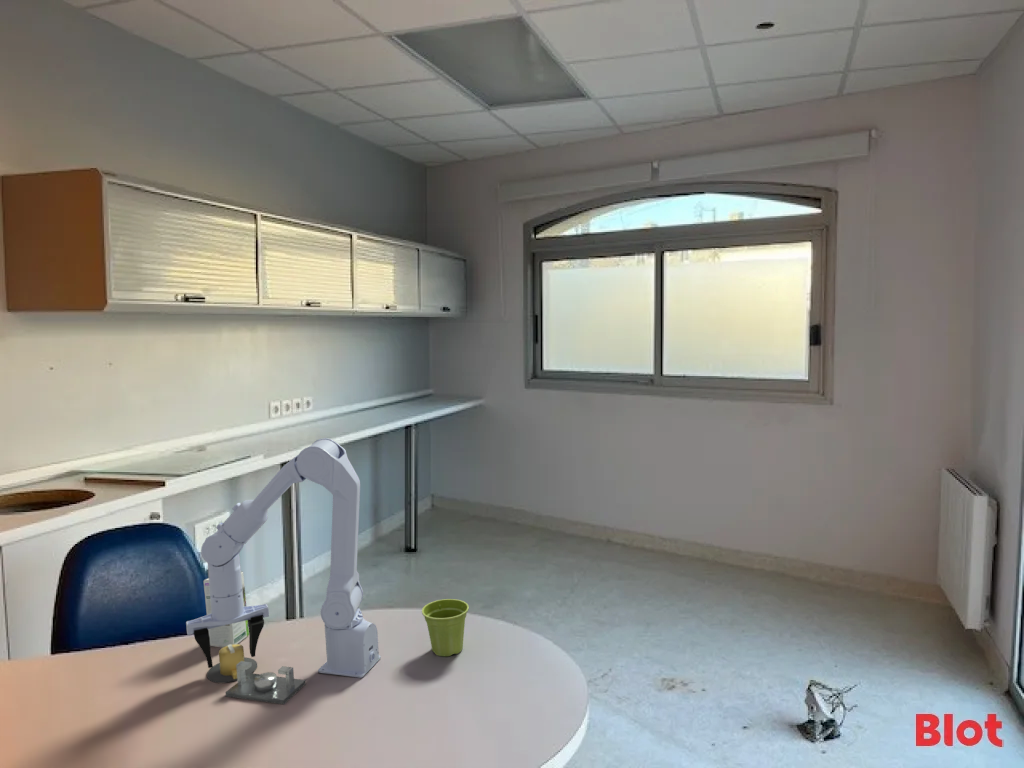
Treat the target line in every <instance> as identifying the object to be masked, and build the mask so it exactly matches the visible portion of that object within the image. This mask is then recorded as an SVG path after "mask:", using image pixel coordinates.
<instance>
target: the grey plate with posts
mask: <svg viewBox="0 0 1024 768" xmlns="http://www.w3.org/2000/svg"><path fill="white" fill-rule="evenodd" d="M251 666H252V664H251V662H245V661H241V662H239V663H238V664H237V665H236V668H237V681H236V682H237V683H235V684H234V685H233V686H231V687H230V688H228V690H226V691H225V697H228V698H235V699H242V700H248V701H249V700H250V701H254V702H255V701H256V702H257V701H258V702H263V703H264V702H265V703H270V704H276V705H277V704H279V705H285V704H286V703H287V702H288V701H290V699H291V698H293V696H294V695H296V693H298V692H299V691H300V690H301V689H302V688H303V687H304V686H305V685H306V684H307V683H306V679H301V678H300V679H299V678H295V676H294V673H295V672H294V667H293V666H292V667H291V666H284V665H281V667H280V668H278V669H277V674H278V675H285V677H283V676H277V674H276V673H275V672H268V671H267V672H263V673H254V672H253V673H249V674H248V675H247V676H246V675H245V670H247V669H248V668H250V667H251Z"/></svg>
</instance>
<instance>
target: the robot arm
mask: <svg viewBox="0 0 1024 768" xmlns="http://www.w3.org/2000/svg"><path fill="white" fill-rule="evenodd" d="M305 480H309V481H310V482H312V483H313V482H314V483H315V484H318V485H320V486H322V487H323V488H325V489H326V490H327V491H328V492H329V493H331V494H332V510H331V511H332V512H331V513H332V516H331V518H332V519H331V541H330V543H331V545H330V547H331V548H330V567H329V569H330V570H329V571H330V572H329V574H330V575H329V579H328V584H327V588H326V596H325V600H324V602H323V603H322V605H321V608H320V617H321V621H322V622H323V623H324V634H325V636H324V637H325V651H326V662H324V664H322V666H320V667H319V668H318V670H317V672H318V673H320V674H327V675H336V676H343V677H344V676H345V677H351V678H352V677H353V678H354V677H355V678H360V679H361V678H364V676H366V674H367V673H368V672H369V671H370V670H371V669H372V668H373V667H374V666H375V665H376V664H377V663H378V661H379V660H380V659H381V656H382V655H380V654H379V653H380V652H379V638H378V637H379V636H378V634H379V633H378V627H377V625H376V624H375V623H374V622H370V621H368V620H367V619H365V618H364V617H363V616H364V614H363V613H362V611H361V608H360V607H359V606H360V605H361V603H362V602H363V599H364V589H363V588H362V586H361V583H360V573H359V572H358V569H357V568H358V549H359V521H360V498H361V496H360V495H361V481H360V478H359V475H358V474H357V472H356V471H355V468H354V466H353V465H352V463H351V461H350V460H349V458H348V454H347V451H346V449H345V448H344V447H343V446H341V445H340V444H339V443H338V442H336V441H335V440H333V439H331V438H328V437H325V438H324V437H322V438H319V439H316V440H315V441H314V442H313V443H312V444H311V445H309V446H307V447H305V448H303V449H302V450H301V451H300V452H299V453H298V454H297V455H295V456H294V457H293V458H292V459H290V460H289V461H288V462H287V463H285V464H284V465H283V466H282V467H281V468H280V470H278V472H277V473H276V474H275V475H274V476H273V477H272V478H271V479H270V481H269V482H268V483H267V484H266V485H265V487H264V488H262V490H261V491H260V492H259V493H258V495H257V496H256V497H255V498H254V499H245V500H243V501H242V502H237V503H236V504H235V505H234V506H233V507H232V510H233V511H232V512H231V514H230V515H229V516H228V517H227V518H226V519H225V520H224V521H223V522H222V521H221V522H219V523H218V524H217V525H216V526H215V528H216V529H217V531H216V532H214V533H212V534H210V535H209V536H207V537H206V538H205V540H204V542H203V543H202V546H201V550H200V552H201V553H200V554H201V556H202V559H203V560H204V561H205V562H206V563H207V573H208V574H207V575H208V578H209V588H210V600H211V612H212V614H209V615H207V614H206V615H204V616H200V617H198V618H195V619H191V620H187V621H186V622H185V625H186V627H185V628H186V634H187V636H190V635H193V636H194V640H195V641H196V643H197V645H198V646H199V647H200V649H201V650H202V653H203V654H204V656H205V660H206V663H207V668H209V669H210V668H212V667H213V666H214V665H213V659H212V653H211V646H210V637H209V631H208V629H211V628H215V627H219V626H224V625H228V624H232V623H237V622H241V621H246V620H248V629H249V635H248V638H249V640H248V641H249V645H248V646H249V648H248V649H249V654H250V658H254V657H256V651H257V646H258V642H259V638H260V635H261V633H262V631H263V628H264V625H265V620H264V618H268V617H270V611H269V609H270V608H269V606H268V604H267V603H264V604H263V603H262V604H257V605H246V607H244V605H243V592H242V579H241V571H242V569H241V558H240V557H241V556H240V552H241V551H242V550H243V548H244V545H245V544H246V543H247V542H248V541H249V540H251V538H252V537H253V536H254V535H255V534H256V533H257V532H258V531H259V530H260V529H261V528H262V527H263V526H264V524H266V523H267V521H268V518H269V517H268V516H269V515H268V514H269V513H268V510H269V509H270V508H271V507H272V506H273V504H274V503H275V502H276V501H277V500H279V498H280V497H281V496H283V494H284V493H286V492H287V490H288V489H289V488H290V487H291V486H292V485H293V484H298V483H303V482H304V481H305Z"/></svg>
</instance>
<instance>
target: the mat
mask: <svg viewBox="0 0 1024 768" xmlns="http://www.w3.org/2000/svg"><path fill="white" fill-rule="evenodd" d="M244 661H245V662H251V664H252V666H251V667H250V668H248V669H247V670H245V675H246V676H247V675H248V674H249V673H254V672H256V670H257V668H258V662H257V661H256V660H255V659H253V658H252V657H245V656H244ZM212 666H213V667H211V668H209V669H208V671H207V673H206V677H207V679H208V680H209V681H211V682H213V683H216V684H217V683H218V684H219V683H220V684H223V683H224V684H226V683H232V682H238V681H237V679H233V677H232V675H229V676H225V675H222V674H221V673H220V662H218V663H216V664H214V665H212Z"/></svg>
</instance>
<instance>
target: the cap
mask: <svg viewBox="0 0 1024 768" xmlns="http://www.w3.org/2000/svg"><path fill="white" fill-rule="evenodd" d="M244 650H245V649H244V646H243V645H242V644H239V643H238V644H234V645H231V644H230V645H228V646H226V647H221V649H220V650H218V659H219V662H218V663H220V673H221V674H222V675H225V676H229V675H232V677H233V679H237V668H236V665H237V664H238V663H239V662H241V661H244V657H245V653H244Z"/></svg>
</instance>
